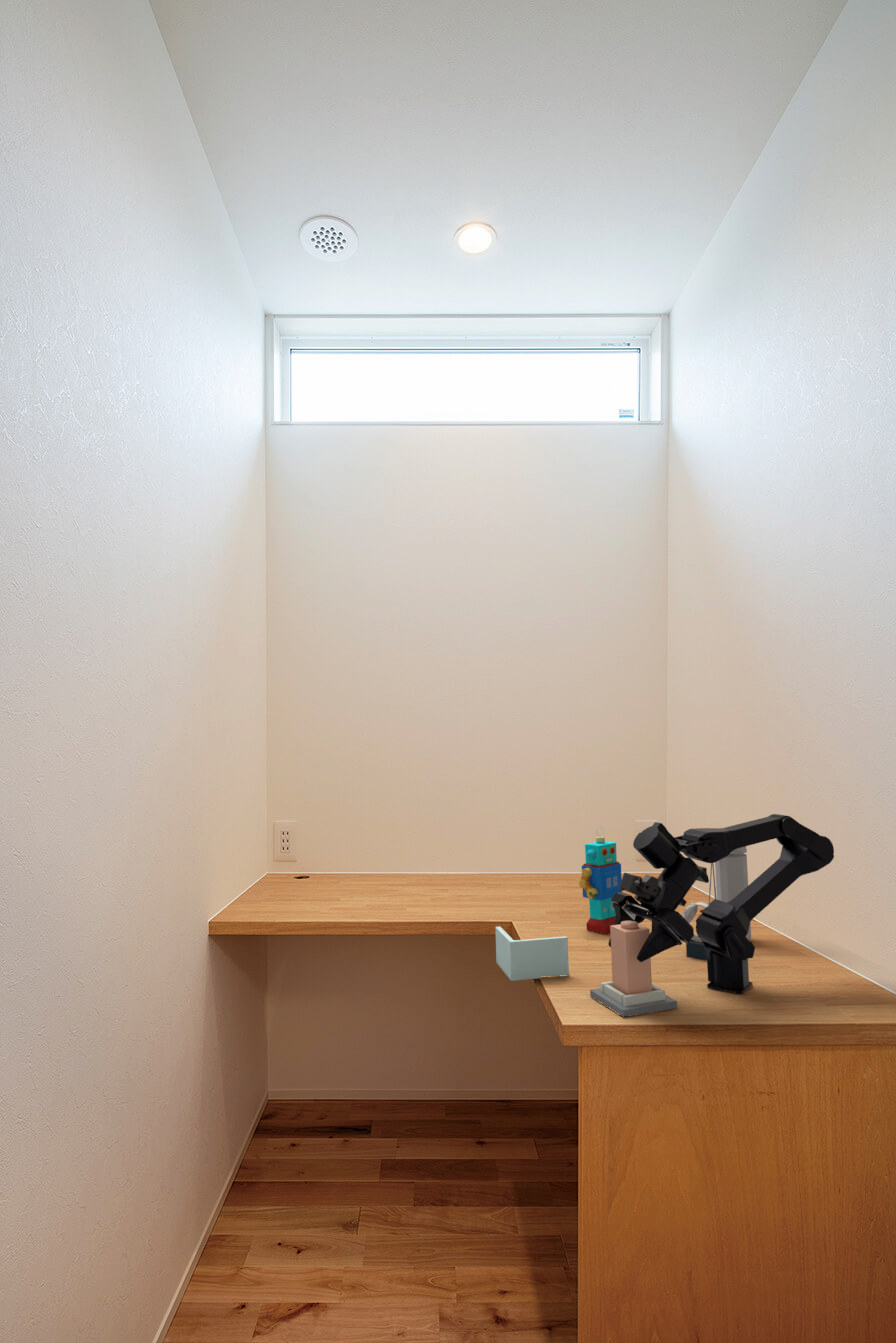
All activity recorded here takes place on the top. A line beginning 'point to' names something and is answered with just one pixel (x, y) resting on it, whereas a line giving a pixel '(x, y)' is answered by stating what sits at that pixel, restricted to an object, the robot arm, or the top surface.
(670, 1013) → the top surface
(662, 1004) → the socket plate
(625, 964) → the pillar
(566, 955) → the l-shaped corner panel
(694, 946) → the watch
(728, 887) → the water bottle
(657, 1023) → the top surface
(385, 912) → the top surface
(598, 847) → the toy robot
